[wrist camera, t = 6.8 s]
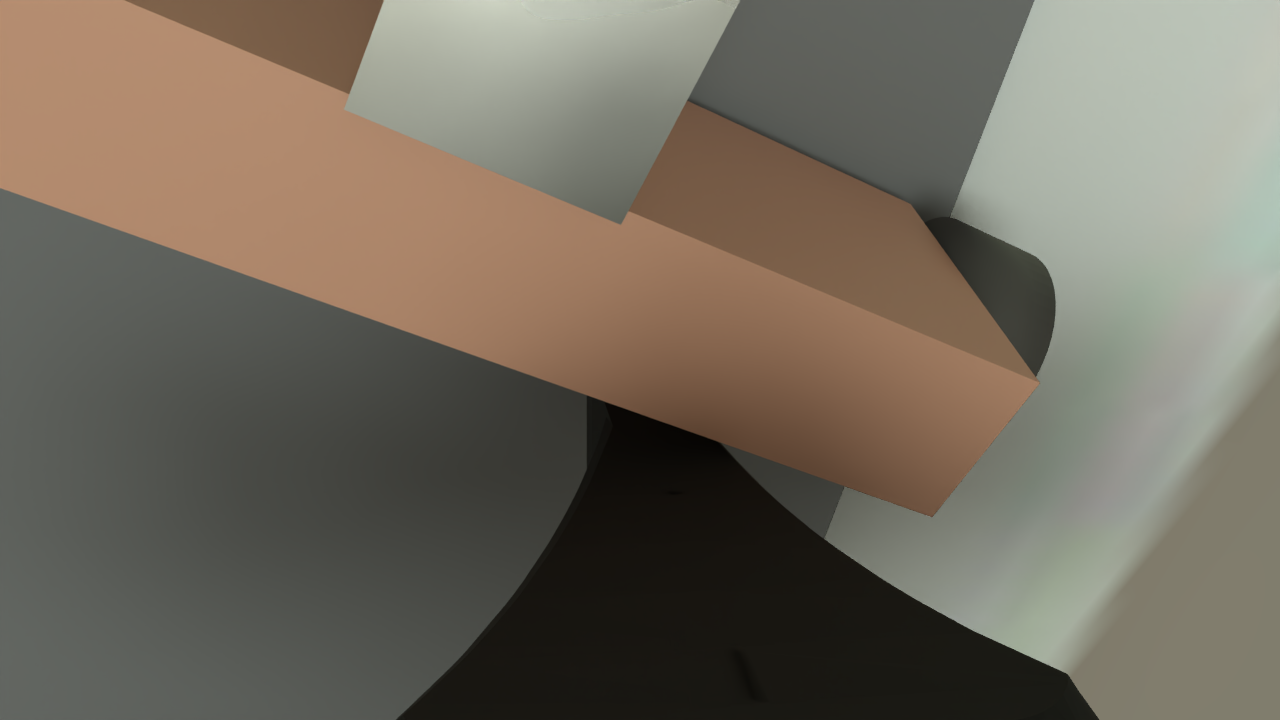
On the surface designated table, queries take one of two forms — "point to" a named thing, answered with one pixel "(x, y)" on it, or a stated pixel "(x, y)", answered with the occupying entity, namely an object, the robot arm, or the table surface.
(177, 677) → the mat
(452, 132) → the latch block
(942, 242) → the tan rectangular bar
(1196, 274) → the table surface
